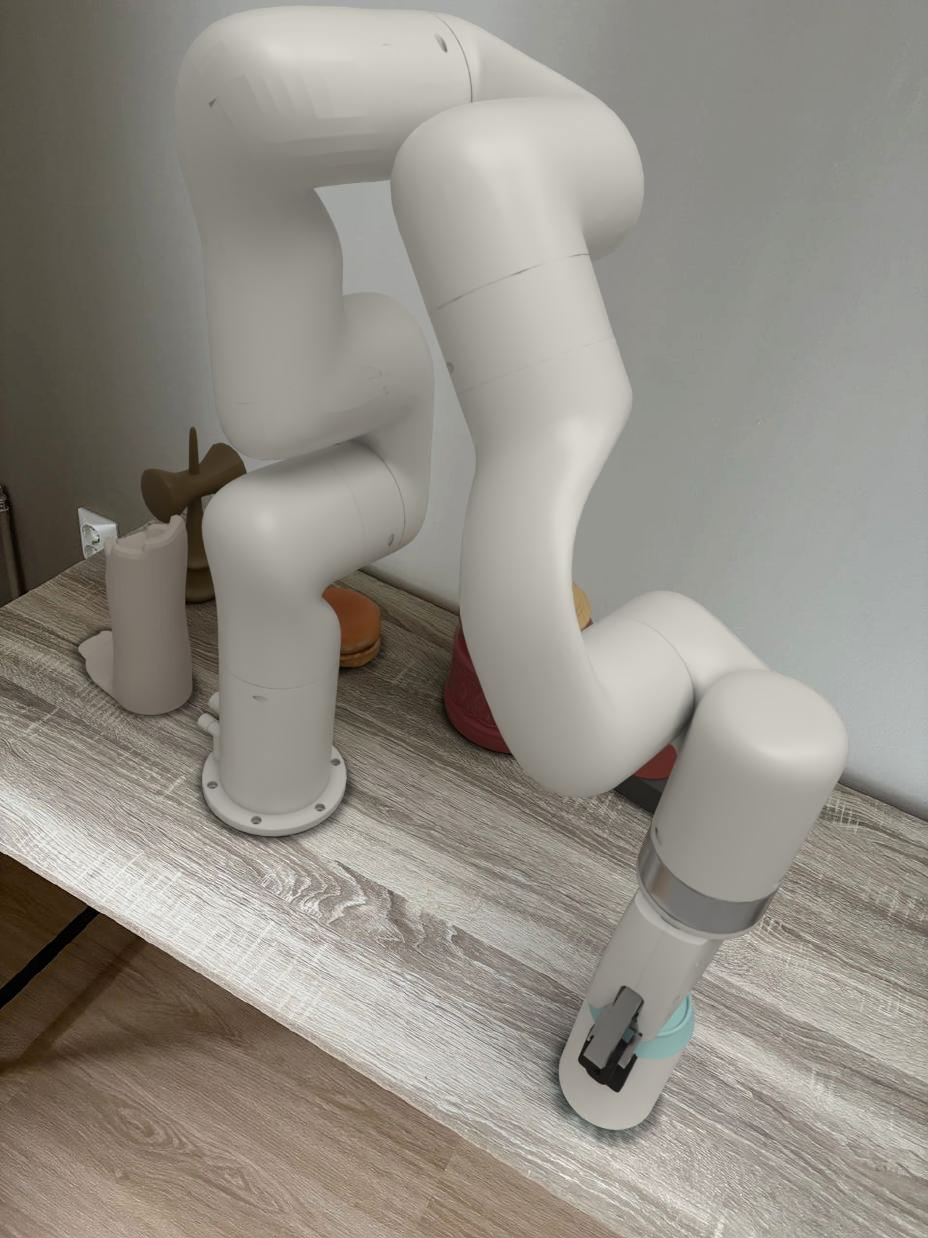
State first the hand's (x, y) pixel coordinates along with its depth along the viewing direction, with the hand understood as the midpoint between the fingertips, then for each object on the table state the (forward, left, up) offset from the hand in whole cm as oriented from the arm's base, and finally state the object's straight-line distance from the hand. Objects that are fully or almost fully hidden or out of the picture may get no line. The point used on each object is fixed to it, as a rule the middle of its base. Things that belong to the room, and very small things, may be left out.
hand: (630, 1031), depth 66 cm
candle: (-57, +3, -7) cm, 58 cm away
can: (0, 0, -7) cm, 7 cm away
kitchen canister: (-28, +26, -7) cm, 39 cm away
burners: (-11, +31, -4) cm, 33 cm away
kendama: (-63, +16, -7) cm, 65 cm away
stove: (-11, +31, -7) cm, 34 cm away
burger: (-47, +21, -7) cm, 52 cm away
